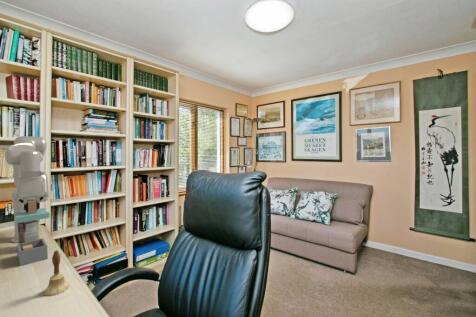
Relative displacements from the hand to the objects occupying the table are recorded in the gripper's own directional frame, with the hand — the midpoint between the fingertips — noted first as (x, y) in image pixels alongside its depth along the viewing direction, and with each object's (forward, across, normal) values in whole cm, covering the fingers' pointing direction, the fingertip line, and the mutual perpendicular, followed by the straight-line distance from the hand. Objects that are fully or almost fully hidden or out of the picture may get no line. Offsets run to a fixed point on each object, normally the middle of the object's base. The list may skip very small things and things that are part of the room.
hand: (31, 210), depth 115 cm
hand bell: (+26, -4, +40) cm, 48 cm away
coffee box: (+26, 0, -20) cm, 32 cm away
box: (+26, 0, -3) cm, 26 cm away
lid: (+4, 0, 0) cm, 4 cm away
